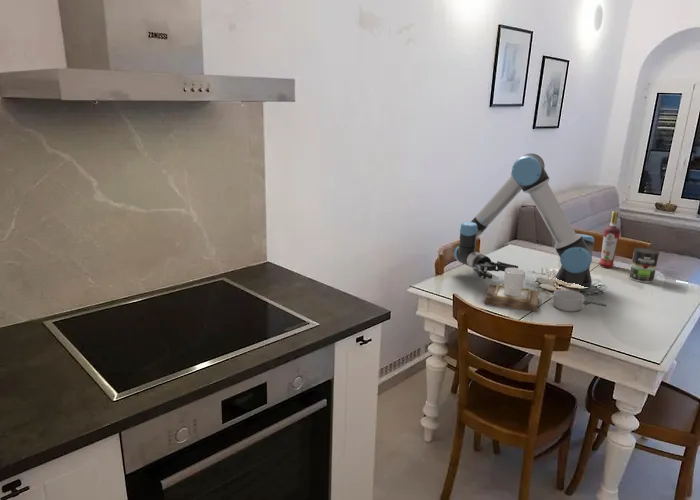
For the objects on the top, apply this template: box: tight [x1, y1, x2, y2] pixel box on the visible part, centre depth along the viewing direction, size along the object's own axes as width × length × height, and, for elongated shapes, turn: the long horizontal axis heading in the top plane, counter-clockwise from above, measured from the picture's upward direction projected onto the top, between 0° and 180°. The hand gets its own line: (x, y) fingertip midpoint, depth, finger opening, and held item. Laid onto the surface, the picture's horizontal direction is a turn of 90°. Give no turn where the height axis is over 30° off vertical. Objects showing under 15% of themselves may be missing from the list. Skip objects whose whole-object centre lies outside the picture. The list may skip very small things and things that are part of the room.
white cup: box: [503, 267, 526, 296], centre depth 210 cm, size 8×8×10 cm
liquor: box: [598, 210, 621, 269], centre depth 254 cm, size 7×7×28 cm
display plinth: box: [484, 283, 540, 313], centre depth 212 cm, size 20×16×4 cm
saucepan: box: [552, 289, 607, 312], centre depth 203 cm, size 12×20×6 cm, turn 45°
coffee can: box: [628, 247, 660, 284], centre depth 238 cm, size 10×10×14 cm
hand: (511, 277), depth 211 cm, fingers open, 13 cm apart
